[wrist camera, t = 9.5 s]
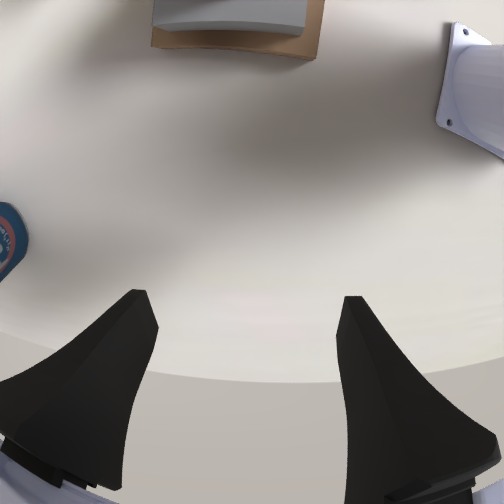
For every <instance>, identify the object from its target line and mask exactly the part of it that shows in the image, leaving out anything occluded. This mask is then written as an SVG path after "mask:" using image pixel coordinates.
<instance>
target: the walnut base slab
mask: <svg viewBox="0 0 504 504" xmlns="http://www.w3.org/2000/svg"><path fill="white" fill-rule="evenodd" d="M324 2H325V0H307V10H306V20H305V28H304V30H303V32H302V34H301V36H297V35H290V34H282V33H272V32H260V31H244V30H191V31H175V32H169V31H166V30H163V29H161V28H158V27H155V26H153V34H152V42H151V47H156V48H161V49H173V48H204V49H227V50H240V51H251V52H260V53H268V54H276V55H282V56H289V57H295V58H300V59H306V60H311V61H313V60H314V59H316V55H317V49H318V43H319V36H320V30H321V23H322V16H323V9H324Z"/></svg>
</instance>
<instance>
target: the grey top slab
mask: <svg viewBox="0 0 504 504" xmlns="http://www.w3.org/2000/svg"><path fill="white" fill-rule="evenodd" d="M306 10H307V0H155V1H154V9H153V18H152V26H155V27H158V28H161V29H163V30H166V31H169V32H175V31H191V30H244V31H260V32H272V33H282V34H290V35H297V36H301V34H302V32H303V30H304V28H305V20H306Z"/></svg>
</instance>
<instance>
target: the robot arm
mask: <svg viewBox="0 0 504 504" xmlns="http://www.w3.org/2000/svg"><path fill="white" fill-rule="evenodd" d="M463 30H464V31H465V32H466V35H465V34H464V33H463ZM448 119H449V120H450V124H449V125H447V120H448ZM436 123H437V124H438V125H439V126H441V127H443V128H445V129H447V130H450V131H452V132H454V133H456V134H458V135H460V136H462V137H464V138H466V139H468V140H470V141H472V142H474V143H476V144H478V145H479V146H481V147H483V148H485V149H487V150H489V151H490V152H492V153H494V154H496V155H497V156H499V157H501V158H502V159H504V45H493V44H492V43H490V42H489V41H488V40H486V39H485V38H483V37H482V36H480V35H479V34H477V33H476V32H474V31H473V30H471V29H470V28H468V27H466V26H465V25H463V24H461V23H459V22H454V23H452V26H451V36H450V44H449V51H448V58H447V64H446V70H445V76H444V81H443V86H442V91H441V96H440V101H439V105H438V109H437V114H436ZM158 329H159V327H158V324H157V321H156V318H155V316H154V313H153V310H152V307H151V304H150V301H149V298H148V296H147V293H146V290H136V289H132V290H130V291H129V292H128V293H126V294H125V295H124V296H123V297H122V298H121V299H119V300H118V301H117V302H116V303H115V304H114V305H113V306H111V307H110V308H109V309H108V310H107V311H106V312H105V313H104V314H102V315H101V316H100V317H99V318H98V319H97V320H96V321H95V322H93V323H92V324H91V325H90V326H89V327H87V328H86V329H85V330H84V331H83V332H81V333H80V334H79V335H78V336H77V337H75V338H74V339H73V340H72V341H70V342H69V343H68V344H66V345H65V346H64V347H62V348H61V349H60V350H58V351H57V352H56V353H54V354H52V355H51V356H49V357H48V358H46V359H44V360H43V361H41V362H39V363H38V364H36V365H34V366H33V367H31V368H29V369H28V370H26V371H24V372H22V373H20V374H17V375H15V376H13V377H11V378H9V379H6V380H4V381H1V382H0V433H1V434H2V435H4V436H5V439H4V441H2V440H1V439H0V504H118V503H116V502H113V501H110V500H108V499H105V498H103V497H100V496H98V495H96V494H93V493H91V492H89V491H86V487H87V485H89V486H91V487H93V488H96V487H97V484H98V485H100V486H103V487H105V488H108V489H110V490H113V491H116V490H118V489H120V488H122V465H123V455H124V447H125V440H126V434H127V429H128V424H129V419H130V415H131V410H132V406H133V402H134V400H135V396H136V394H137V391H138V388H139V386H140V383H141V381H142V378H143V375H144V373H145V370H146V368H147V365H148V363H149V360H150V357H151V355H152V352H153V349H154V345H155V342H156V338H157V333H158ZM336 342H337V357H338V365H339V371H340V377H341V383H342V388H343V395H344V400H345V407H346V415H347V428H348V429H347V431H348V458H347V461H348V462H347V479H346V492H345V502H344V504H504V479H501V480H499V481H497V482H495V483H494V484H491V485H489V486H487V487H485V488H483V489H481V490H479V491H477V492H474V493H472V490H471V488H472V487H474V486H475V484H476V483H475V477H476V476H477V475H479V474H481V473H483V472H484V471H486V470H488V469H490V468H491V467H493V466H494V465H496V464H497V463H499V462H500V460H501V454H500V449H499V445H498V441H497V438H496V435H495V434H494V433H492V432H491V431H489V430H488V429H486V428H484V427H483V426H481V425H479V424H478V423H477V422H475V421H474V420H472V419H471V418H470V417H468V416H467V415H466V414H464V413H463V412H462V411H460V410H459V409H458V408H457V407H455V406H454V405H453V404H452V403H451V402H450V401H449V400H447V399H446V398H445V397H444V396H443V395H442V394H441V393H439V392H438V391H437V390H436V389H435V388H434V387H433V386H432V385H431V384H430V383H429V382H428V381H427V380H426V379H425V378H424V377H423V376H422V375H421V373H420V372H419V371H418V370H417V369H416V368H415V367H414V366H413V364H412V363H411V362H410V361H409V360H408V358H407V357H406V356H405V355H404V354H403V352H402V351H401V350H400V349H399V347H398V346H397V345H396V343H395V342H394V341H393V339H392V338H391V337H390V335H389V334H388V333H387V331H386V330H385V328H384V327H383V326H382V324H381V323H380V321H379V320H378V319H377V317H376V316H375V314H374V313H373V311H372V310H371V308H370V307H369V306H368V304H367V303H366V301H365V300H364V298H363V297H362V296H345V298H344V303H343V307H342V312H341V316H340V321H339V325H338V329H337V334H336Z"/></svg>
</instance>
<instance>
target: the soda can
mask: <svg viewBox="0 0 504 504" xmlns="http://www.w3.org/2000/svg"><path fill="white" fill-rule="evenodd" d="M28 242H29V233H28V229H27V225H26V223H25V221H24V219H23V217H22V215H21V214H20V212H19V211H18V210H17V209H16V208H15V207H14V206H13V205H12V204H10V203H6V202H0V282H1V281H2V280H3V279H4V278H5V277H6V276H7V275H8V274H9V273H10V271H11V270H12V269H13V268H14V267H15V266H16V265H17V264H18V263H19V262H20V261H21V260H22V259H23V258H24V256H25V254H26V250H27V246H28Z"/></svg>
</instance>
